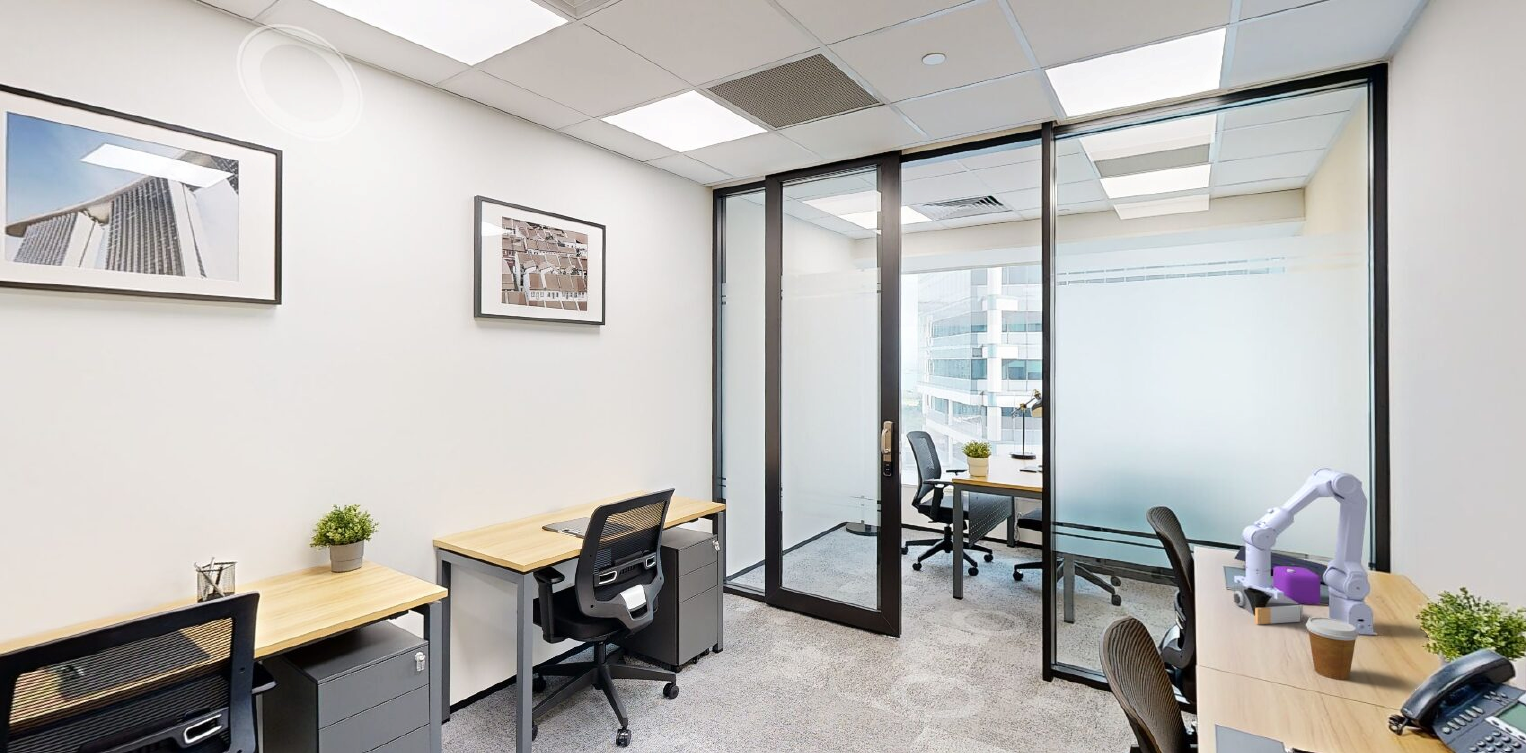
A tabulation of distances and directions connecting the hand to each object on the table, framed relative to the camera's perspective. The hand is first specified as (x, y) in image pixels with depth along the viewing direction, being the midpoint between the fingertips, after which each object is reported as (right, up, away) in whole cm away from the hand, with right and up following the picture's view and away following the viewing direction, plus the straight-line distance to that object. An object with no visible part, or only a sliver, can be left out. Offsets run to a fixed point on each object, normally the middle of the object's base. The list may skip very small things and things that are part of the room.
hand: (1258, 615), depth 186 cm
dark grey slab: (+46, -1, +45) cm, 64 cm away
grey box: (+8, -2, +8) cm, 12 cm away
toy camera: (+25, -2, +19) cm, 31 cm away
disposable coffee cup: (-6, -3, -31) cm, 32 cm away
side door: (+5, -2, -1) cm, 5 cm away
